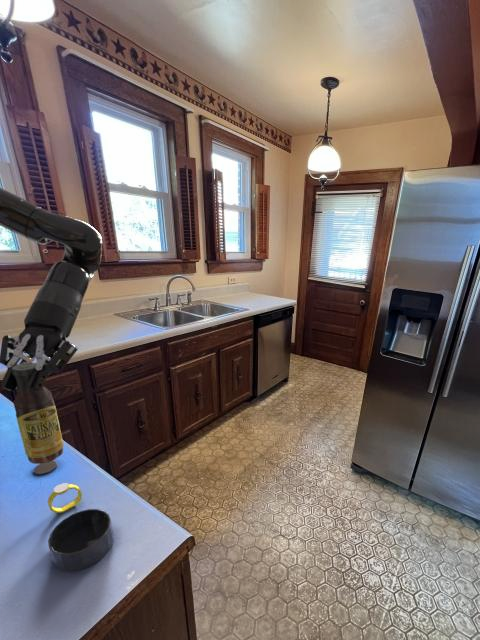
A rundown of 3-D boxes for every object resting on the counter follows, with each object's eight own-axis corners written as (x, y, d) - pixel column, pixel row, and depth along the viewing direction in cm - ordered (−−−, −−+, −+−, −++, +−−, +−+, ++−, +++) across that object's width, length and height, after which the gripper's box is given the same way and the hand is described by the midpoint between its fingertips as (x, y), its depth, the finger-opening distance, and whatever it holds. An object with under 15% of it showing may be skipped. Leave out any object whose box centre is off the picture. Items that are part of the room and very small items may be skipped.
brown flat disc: (28, 472, 78) (28, 471, 78) (47, 460, 82) (46, 459, 82) (44, 476, 77) (44, 475, 77) (62, 464, 81) (62, 463, 81)
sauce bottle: (35, 470, 60) (5, 376, 52) (23, 457, 63) (-7, 367, 56) (72, 453, 65) (50, 366, 57) (59, 442, 68) (36, 357, 60)
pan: (40, 562, 57) (34, 545, 55) (84, 520, 66) (80, 504, 64) (85, 578, 55) (80, 561, 53) (125, 532, 64) (121, 516, 62)
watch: (81, 497, 72) (75, 476, 69) (85, 503, 70) (80, 483, 68) (50, 511, 67) (43, 490, 65) (54, 519, 66) (47, 498, 63)
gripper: (6, 296, 59) (-38, 379, 53) (77, 302, 59) (41, 387, 52) (36, 317, 66) (0, 393, 60) (99, 323, 65) (70, 400, 59)
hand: (19, 390), depth 56 cm, fingers closed on sauce bottle, 4 cm apart
